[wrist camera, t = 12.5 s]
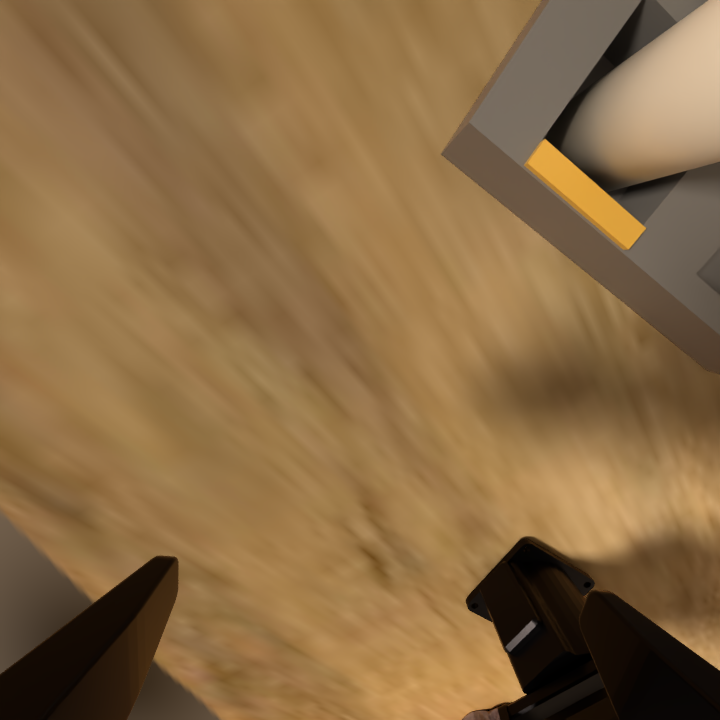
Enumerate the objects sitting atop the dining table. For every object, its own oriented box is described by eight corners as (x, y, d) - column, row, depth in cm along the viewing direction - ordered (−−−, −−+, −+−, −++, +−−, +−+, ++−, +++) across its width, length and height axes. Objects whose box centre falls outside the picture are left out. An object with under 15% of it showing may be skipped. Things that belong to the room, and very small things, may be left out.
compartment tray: (818, 253, 19) (949, 250, 15) (707, 370, 21) (797, 397, 17) (550, -13, 15) (626, -114, 11) (440, 154, 17) (471, 119, 13)
